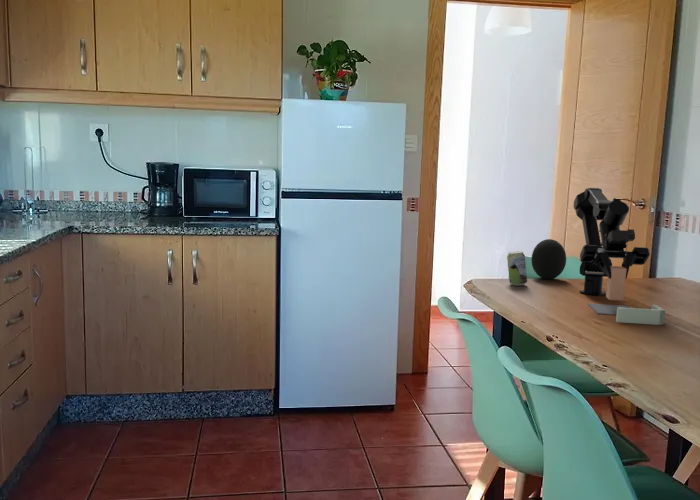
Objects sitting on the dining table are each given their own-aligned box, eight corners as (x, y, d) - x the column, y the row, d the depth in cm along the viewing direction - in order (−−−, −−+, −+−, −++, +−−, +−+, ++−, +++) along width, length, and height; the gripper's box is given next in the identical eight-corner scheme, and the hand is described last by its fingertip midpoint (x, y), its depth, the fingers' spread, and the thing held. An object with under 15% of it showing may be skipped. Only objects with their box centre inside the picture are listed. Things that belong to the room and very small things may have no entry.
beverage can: (527, 287, 214) (530, 253, 212) (505, 286, 215) (508, 252, 213) (526, 284, 220) (528, 250, 218) (505, 282, 221) (507, 249, 220)
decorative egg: (530, 280, 226) (533, 240, 224) (529, 274, 238) (532, 236, 236) (565, 283, 223) (569, 242, 221) (563, 277, 235) (566, 238, 233)
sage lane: (610, 316, 177) (611, 302, 176) (654, 318, 175) (656, 304, 174) (617, 322, 170) (618, 308, 169) (663, 324, 168) (665, 310, 168)
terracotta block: (605, 296, 185) (608, 266, 183) (619, 297, 184) (622, 266, 183) (609, 299, 181) (612, 268, 180) (623, 300, 181) (626, 268, 179)
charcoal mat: (587, 304, 190) (587, 303, 190) (628, 306, 189) (628, 305, 189) (597, 314, 178) (597, 313, 178) (641, 316, 177) (641, 315, 177)
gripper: (585, 218, 184) (591, 261, 175) (651, 220, 182) (660, 264, 173) (577, 240, 193) (582, 282, 184) (639, 243, 191) (648, 285, 182)
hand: (618, 278), depth 180 cm, fingers closed on terracotta block, 4 cm apart
